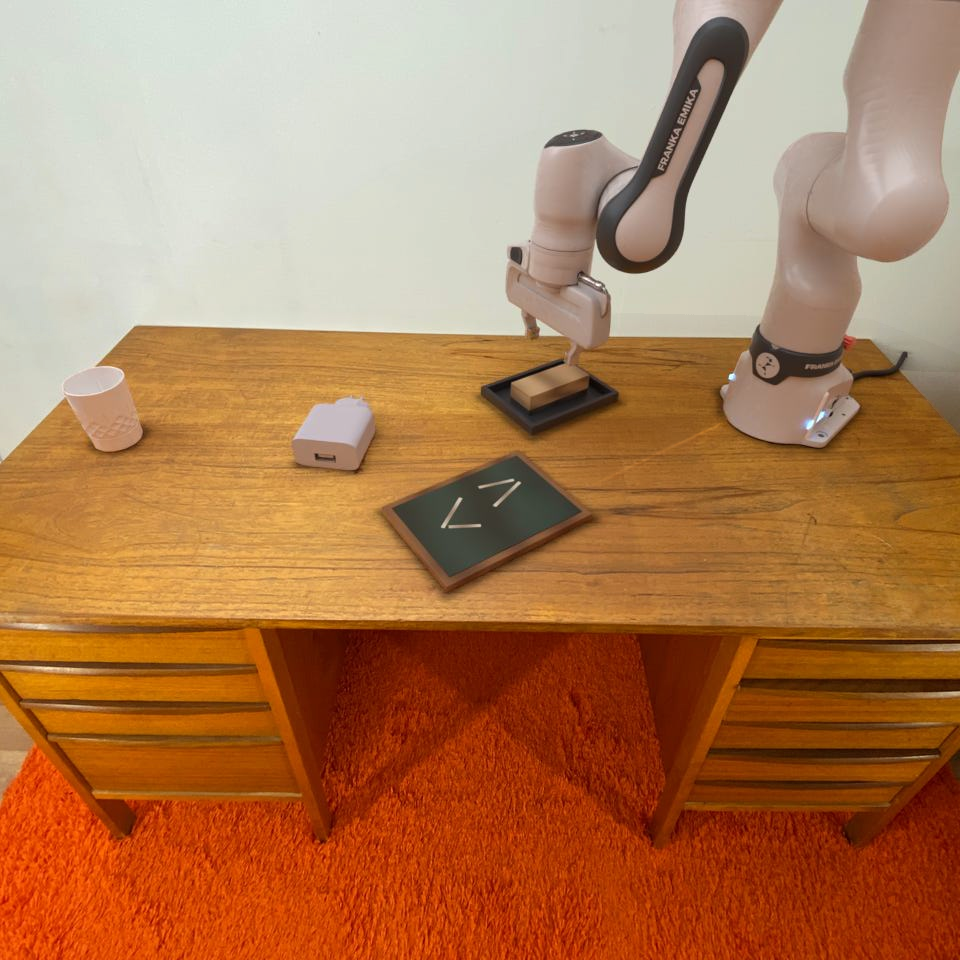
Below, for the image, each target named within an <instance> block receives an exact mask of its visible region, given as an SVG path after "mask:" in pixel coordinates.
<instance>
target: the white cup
mask: <svg viewBox="0 0 960 960" xmlns="http://www.w3.org/2000/svg"><path fill="white" fill-rule="evenodd" d="M60 389H61V391H62V393H63V395H64V396H65V398H66V400H67V402H68V404H69V405H70V407H71V410H72V411H73V413H74V416H75V417H76V418H77V419H78V422H79V423H80V425H81V427H82V429H83V430H84V433H86V434H87V436H88V437H89V440H90V441H91V443H92V445H93V446H94V448H95V449H96V450H98V451H102V452H104V453H105V452H107V453H110V452H112V453H113V452H118V451H122V450H126V449H128V448H131V447H132V446H134V445H136V444H137V443H138V442H139V441H140V440H141V439H142V437H143V433H144V431H143V427H142V425H141V422H140V419H139V416H138V415H139V414H138V411H137V408H136V403H135V402H134V399H133V396H132V393H131V390H130V386H129V384H128V381H127V377H126V375H125V373H124V371H123V370H122V369H121V368H118V367H115V366H110V365H101V366H100V365H99V366H94V367H93V366H91V367H88V368H85V369H82V370H79V371H77V372H74V373H73V374H71V375H69V376H68V377H67V378H65V379H64V380H63V382H62V383H61V385H60Z"/></svg>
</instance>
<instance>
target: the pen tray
mask: <svg viewBox="0 0 960 960" xmlns="http://www.w3.org/2000/svg"><path fill="white" fill-rule="evenodd" d="M563 359H564V357H561V358H558V359H554V360H552V361H550V362H547V363H544V364H540V365H539V366H536V367H533V368H530V369H527V370H523V371H521V372H517V373H515V374H513V375H510V376H508V377H505V378H500V379H499V380H496V381H493V382H490V383H488V384H485V385H482V386H480V396H482V398H484V399H485V400H486V401H488V402H489V403H490V404H491V405H493V406H494V407H495V408H496V409H498V410H499V411H500V412H501V413H503V414H504V416H506V417H508V418H509V419H510V420H511V421H512V422H514V423H515V424H516V425H517V426H518V427H520V428H521V429H522V430H524V431H525V432H526V433H527V434H529V435H530V436H535V435H537V434H540V433H543V432H545V431H547V430H549V429H552V428H555V427H557V426H559V425H562V424H564V423H566V422H569V421H571V420H574V419H576V418H579V417H582V416H584V415H586V414H588V413H591V412H594V411H596V410H598V409H601V408H603V407H606V406H608V405H610V404H613V403H615V402H618V401H619V397H620V391H618V390H616V389H615V388H613V387H612V386H611V385H609V384H607V383H606V382H604V381H603V380H601V379H599V378H598V377H597V376H595V375H593V374H592V373H590V372H588V371H587V370H585V369H584V368H582V366H581V367H580V366H579V365H578V364H576V365H575V366H577V367H578V368H580V369H582V370H583V371H585V372H586V373H588V374H589V375H590V376H589V383H588V390H587V393H586V394H584V395H581V396H579V397H576V398H574V399H571V400H568V401H566V402H563V403H561V404H558V405H556V406H553V407H551V408H548V409H545V410H543V411H540V412H538V413H535V414H533V415H530V416H529V415H527V414H526V413H525V412H523V411H522V410H521V409H520V408H518V407H517V406H516V405H514V404H513V403H512V402H511V401H510V397H511V383H512V382H514V381H517V380H520V379H523V378H526V377H528V376H531V375H534V374H537V373H540V372H542V371H545V370H548V369H551V368H554V367H556V366H559V365H562V364H565V362H564V361H563Z"/></svg>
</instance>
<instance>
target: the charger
mask: <svg viewBox="0 0 960 960" xmlns="http://www.w3.org/2000/svg"><path fill="white" fill-rule="evenodd" d="M364 398H365V397H364V396H363V395H360V397H359V398H355V397H354V395H352V394H350V395H349V397H342V398H340V399H337V400H335V402H334V403H318V404H315V405H314V406H312V408H311V410H310V411H309V412H308V414H307V416H306V418H305V419H304V420H303V422H302V424H301V425H300V427H299V428H298V430H297V431H296V433H295V435H294V436H293V438H292V439H291V441H290V444H291V448H292V449H291V450H292V453H293V458H294V461H295V462H296V463H297V464H300V465H301V466H307V467H315V468H323V469H332V470H342V471H355V470H357V469H359V467H360V465H361V463H362V461H363V459H364V457H365V455H366V452H367V450H368V448H369V446H370V444H371V443H372V440H373V438H374V436H375V434H376V430H377V429H376V420H375V413H374V412H373V411H372V410H371V409H370V408H371V407H372V406H371V404H370V403H368V402H366V401H365V400H364Z"/></svg>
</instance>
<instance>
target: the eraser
mask: <svg viewBox="0 0 960 960" xmlns="http://www.w3.org/2000/svg"><path fill="white" fill-rule="evenodd" d="M582 369H583V368H582ZM582 369H580V368H578V367H577V366H575V365H573V366H569V365H568V364H566V363H565V364H562V365H559V366H556V367H554V368H551V369H548V370H545V371H542V372H540V373H537V374H534V375H531V376H528V377H526V378H523V379H520V380H517V381H514V382H512V383H511V397H510V401H511V402H512V403H513V404H514V405H516V406H517V407H518V408H520V409H521V410H522V411H523V412H525V413H526V414H527V415H529V416H530V415H533V414H535V413H538V412H540V411H543V410H545V409H548V408H551V407H553V406H556V405H558V404H561V403H563V402H566V401H568V400H571V399H574V398H576V397H579V396H581V395H584V394H586V393H587V390H588V383H589V376H590V375H589V374H588V373H589V372H588V373H586V372H585V371H586V370H585V371H583V370H582Z"/></svg>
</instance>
